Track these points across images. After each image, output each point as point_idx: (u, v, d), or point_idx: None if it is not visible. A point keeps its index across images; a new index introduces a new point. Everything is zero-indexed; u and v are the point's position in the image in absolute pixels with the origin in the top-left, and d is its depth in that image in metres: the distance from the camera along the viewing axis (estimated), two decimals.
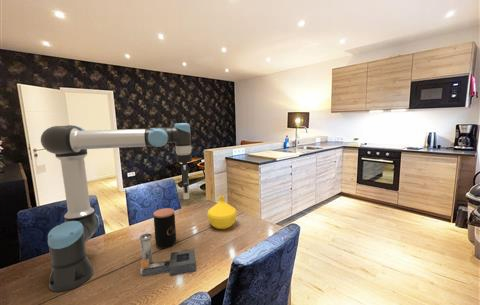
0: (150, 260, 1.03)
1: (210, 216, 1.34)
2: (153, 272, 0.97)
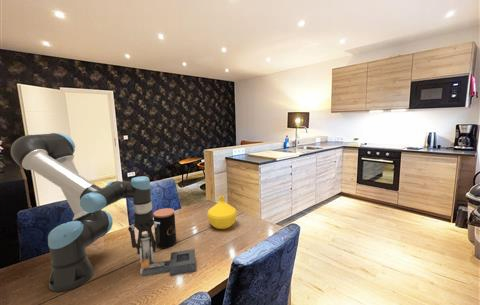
0: (150, 260, 1.03)
1: (210, 216, 1.34)
2: (153, 272, 0.97)
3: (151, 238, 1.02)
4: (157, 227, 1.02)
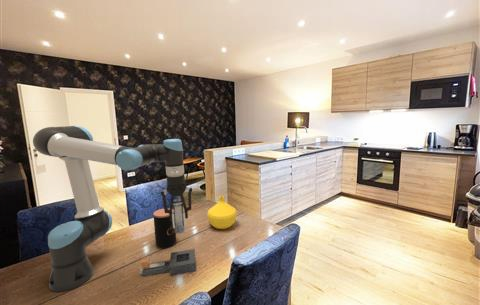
0: (182, 226, 0.99)
1: (210, 216, 1.34)
2: (153, 272, 0.97)
3: (184, 203, 0.98)
4: (190, 192, 0.98)
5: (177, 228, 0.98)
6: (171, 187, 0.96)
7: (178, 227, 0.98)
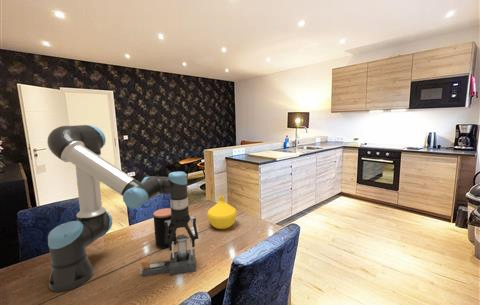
0: None
1: (210, 216, 1.34)
2: (153, 272, 0.97)
3: (190, 233, 1.00)
4: (194, 222, 1.00)
5: None
6: (175, 219, 0.98)
7: None
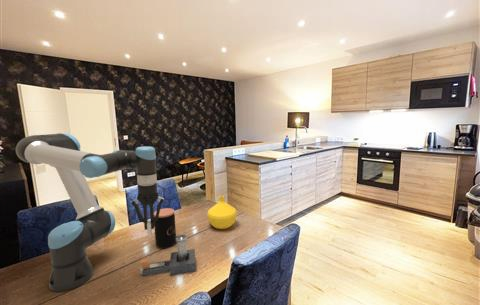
0: None
1: (210, 216, 1.34)
2: (153, 272, 0.97)
3: (151, 213, 0.95)
4: (160, 202, 0.96)
5: None
6: (141, 195, 0.93)
7: None
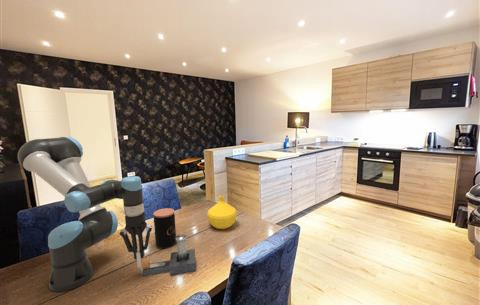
0: None
1: (210, 216, 1.34)
2: (153, 272, 0.97)
3: (140, 243, 0.95)
4: (148, 231, 0.95)
5: None
6: (129, 226, 0.93)
7: None
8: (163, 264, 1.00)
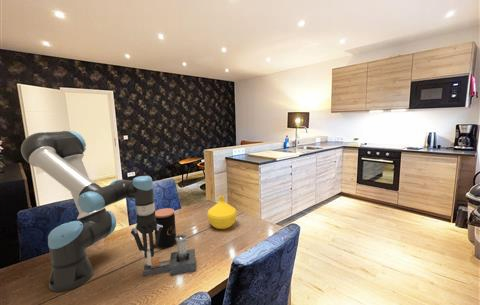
0: None
1: (210, 216, 1.34)
2: (153, 272, 0.97)
3: (151, 242, 0.96)
4: (159, 230, 0.97)
5: None
6: (140, 225, 0.95)
7: None
8: None
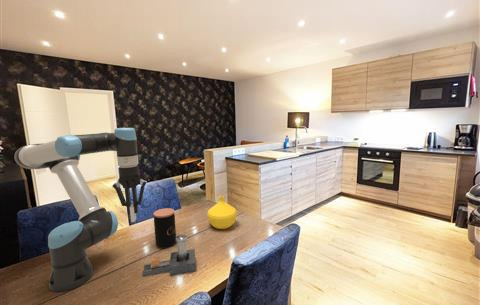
0: None
1: (210, 216, 1.34)
2: (153, 272, 0.97)
3: (134, 197, 0.92)
4: (143, 185, 0.93)
5: None
6: (123, 178, 0.90)
7: None
8: None
